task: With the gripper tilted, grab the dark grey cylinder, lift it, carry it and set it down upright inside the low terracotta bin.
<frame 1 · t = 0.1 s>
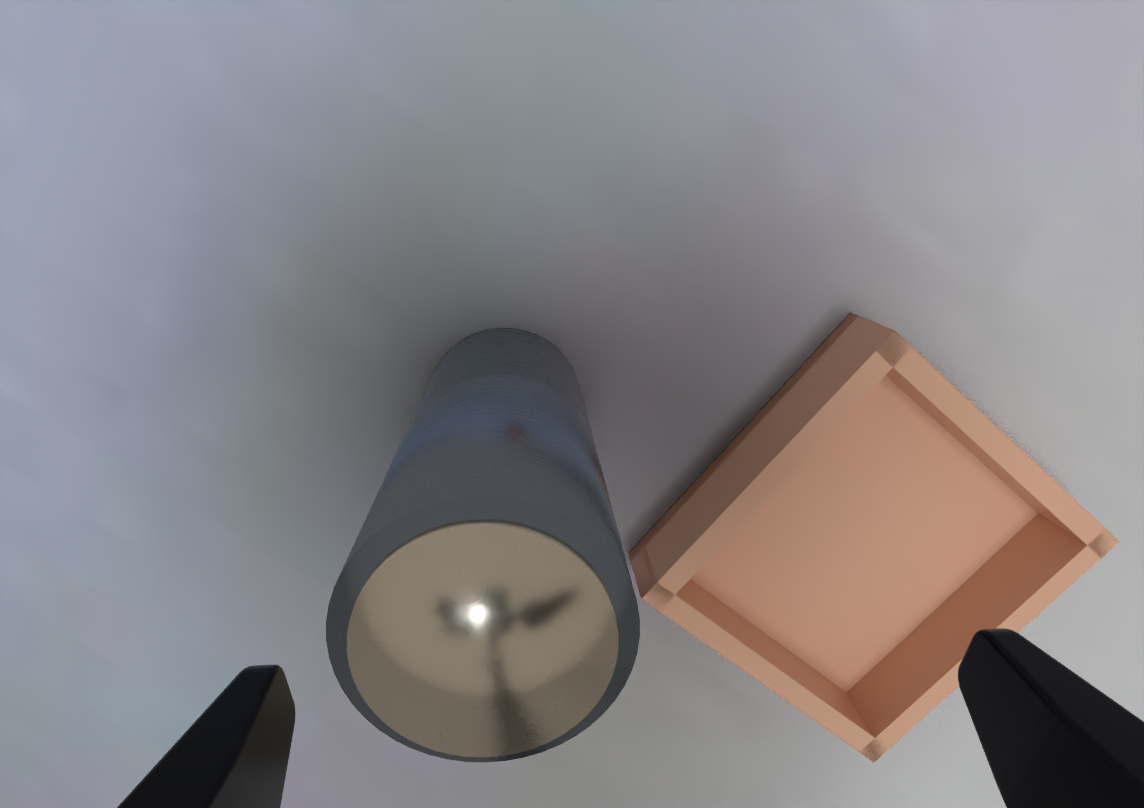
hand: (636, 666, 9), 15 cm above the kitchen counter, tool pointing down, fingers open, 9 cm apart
dark grey cylinder: (505, 402, 24), on the kitchen counter
terracotta bin: (844, 527, 26), on the kitchen counter
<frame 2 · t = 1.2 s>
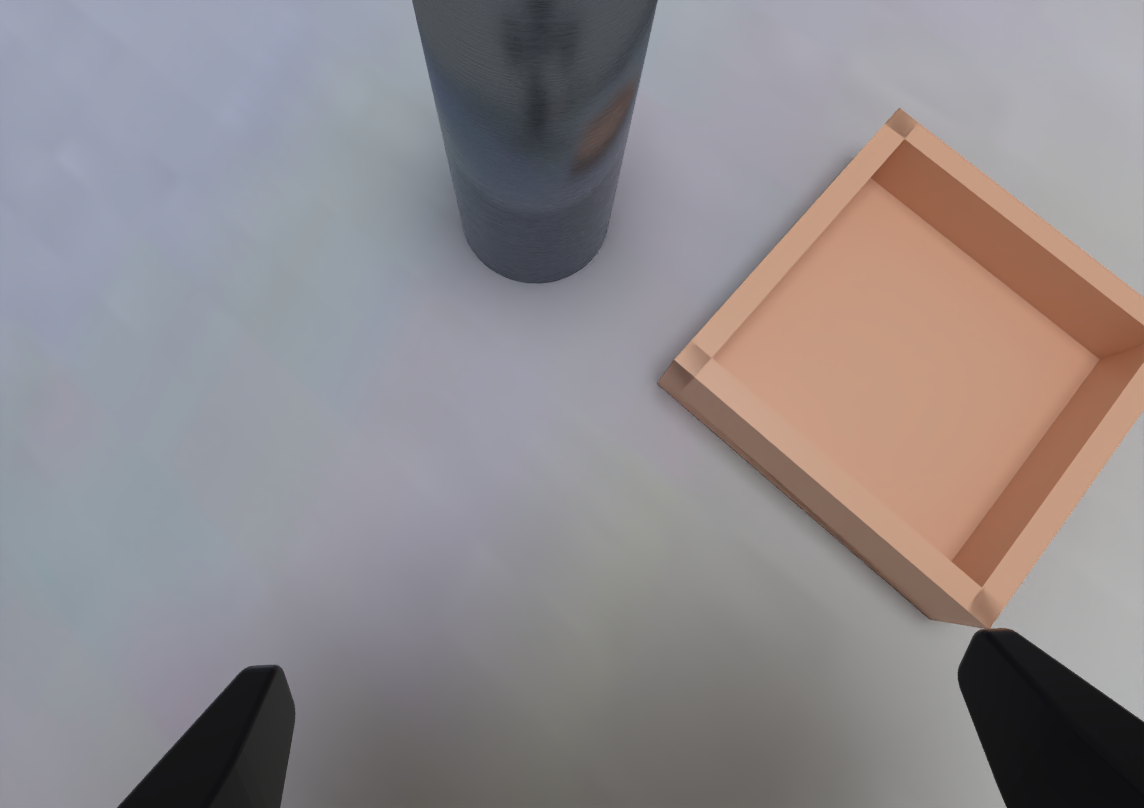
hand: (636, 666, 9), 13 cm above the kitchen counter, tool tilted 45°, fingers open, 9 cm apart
dark grey cylinder: (535, 213, 25), on the kitchen counter
terracotta bin: (891, 372, 24), on the kitchen counter
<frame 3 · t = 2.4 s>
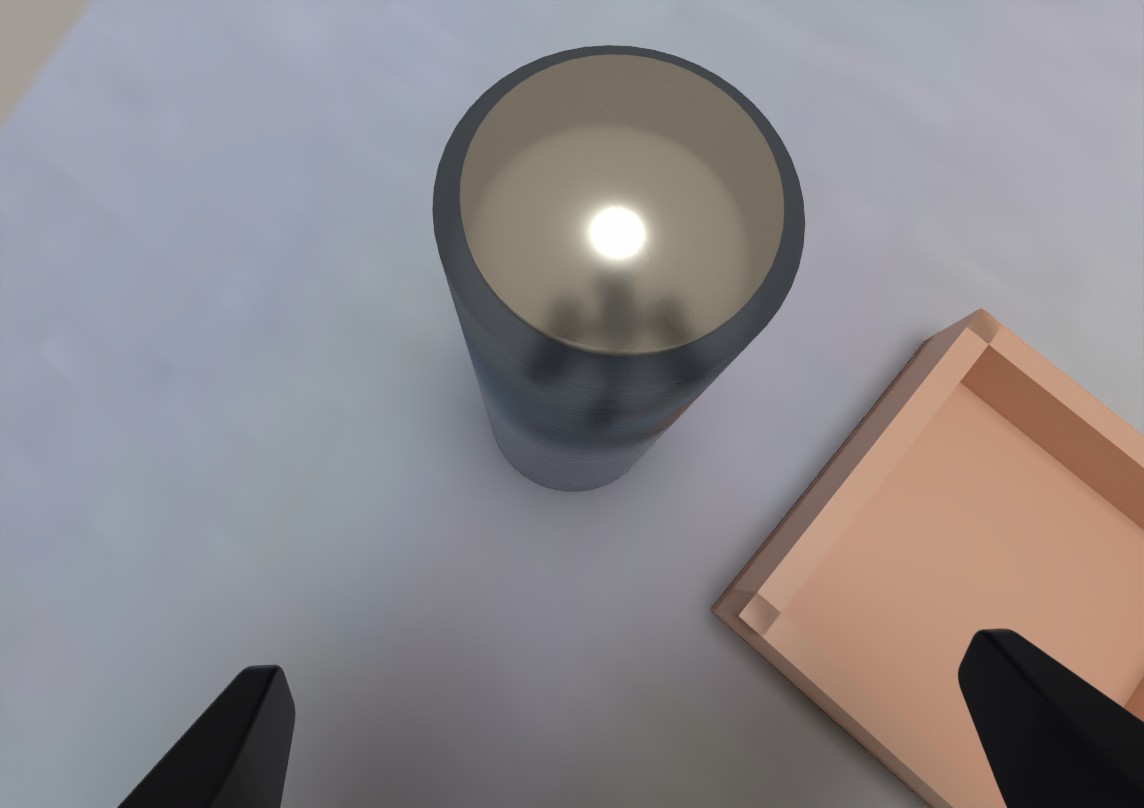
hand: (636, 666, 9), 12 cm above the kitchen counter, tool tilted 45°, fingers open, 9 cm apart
dark grey cylinder: (572, 409, 22), on the kitchen counter
terracotta bin: (971, 592, 22), on the kitchen counter
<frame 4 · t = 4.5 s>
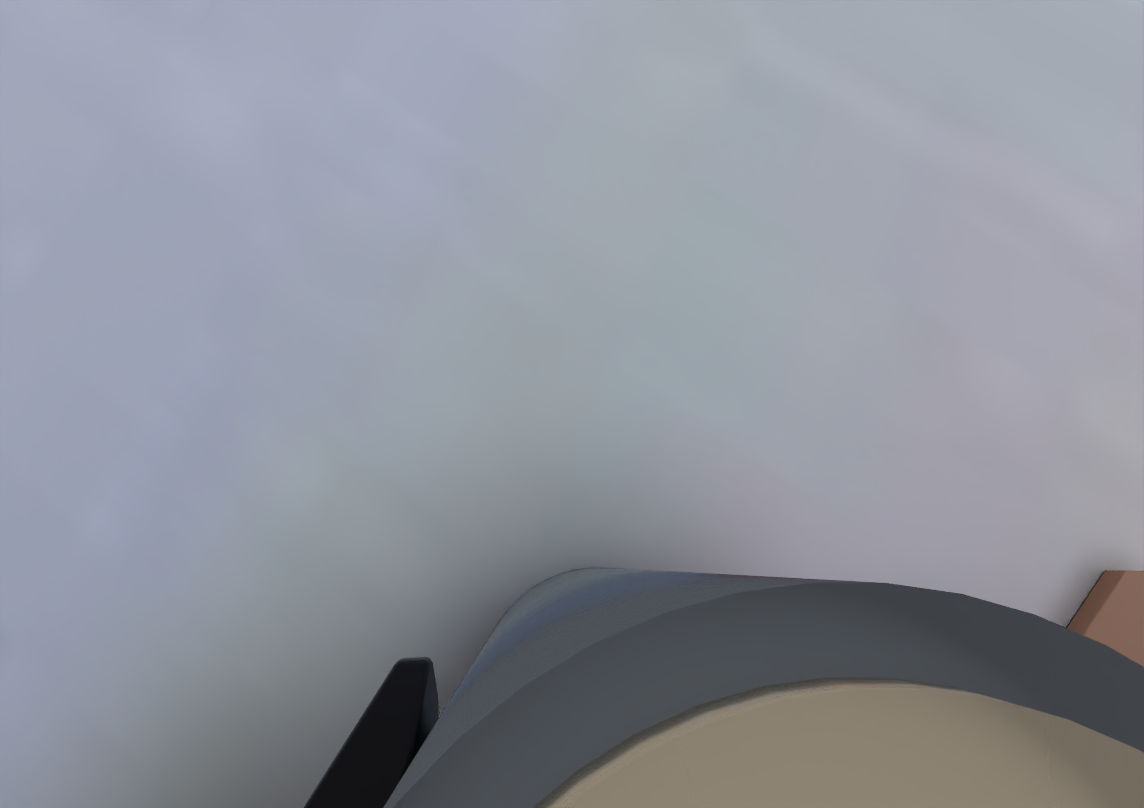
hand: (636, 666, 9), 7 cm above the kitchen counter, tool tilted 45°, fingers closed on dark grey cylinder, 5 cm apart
dark grey cylinder: (597, 690, 15), on the kitchen counter, touching gripper
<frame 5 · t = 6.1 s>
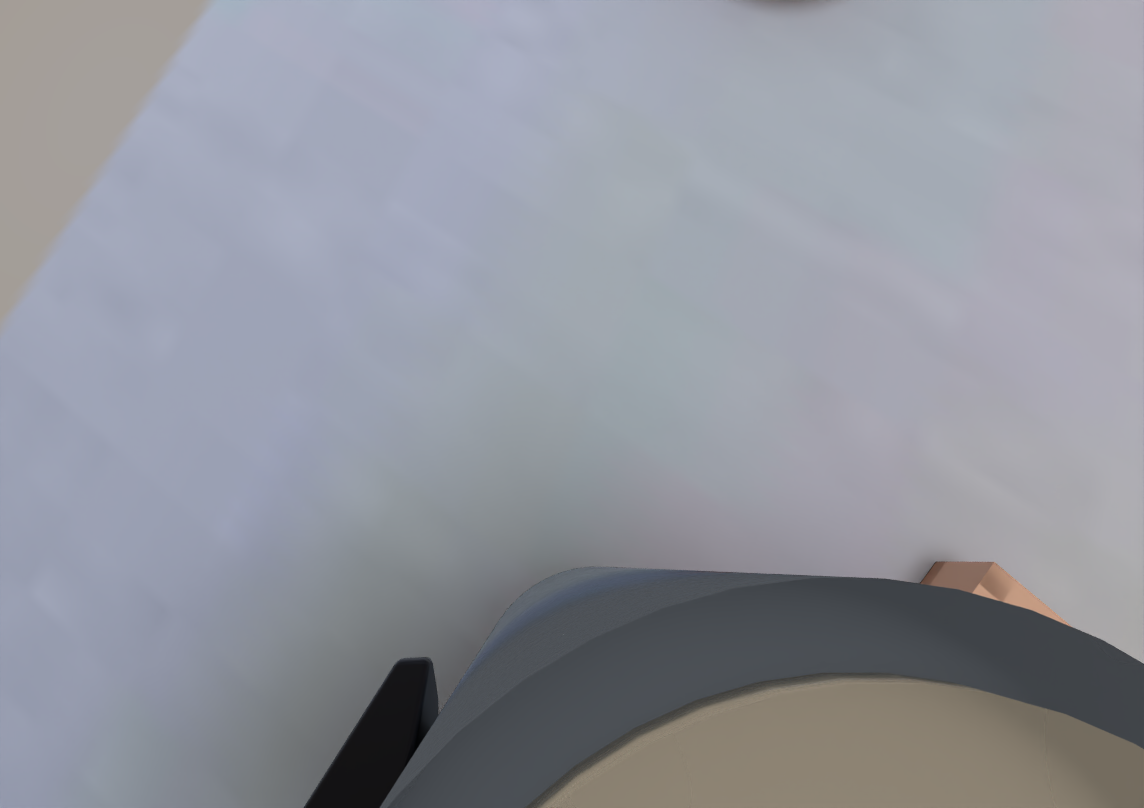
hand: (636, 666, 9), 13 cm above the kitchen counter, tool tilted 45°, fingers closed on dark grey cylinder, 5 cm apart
dark grey cylinder: (597, 689, 15), point 7 cm above the kitchen counter, touching gripper
when the fingers open (9 cm above the kitchen counter, at t = 9.9 s): dark grey cylinder drops 1 cm, resting on terracotta bin.
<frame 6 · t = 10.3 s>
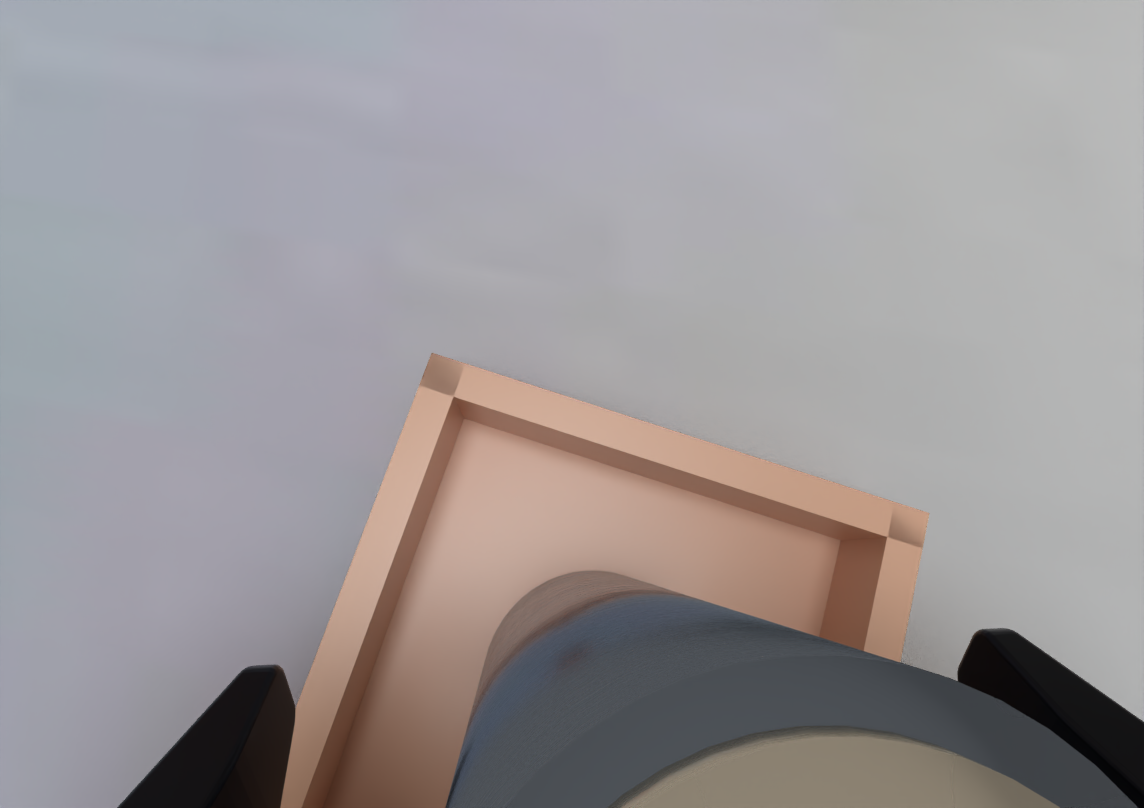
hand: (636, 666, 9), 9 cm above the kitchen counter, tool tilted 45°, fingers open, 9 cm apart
dark grey cylinder: (592, 683, 17), point 1 cm above the kitchen counter, touching terracotta bin
terracotta bin: (590, 675, 17), on the kitchen counter
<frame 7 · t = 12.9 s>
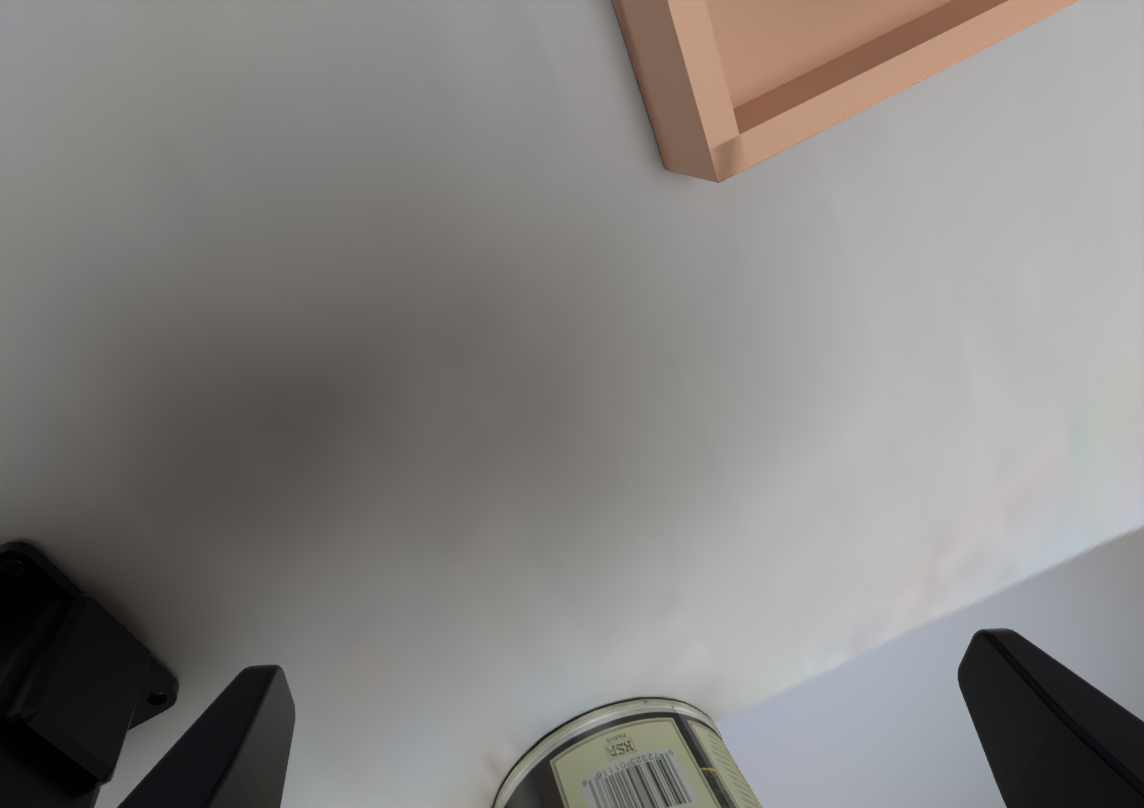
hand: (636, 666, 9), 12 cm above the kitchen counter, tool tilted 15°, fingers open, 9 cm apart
coffee can: (611, 787, 29), on the kitchen counter
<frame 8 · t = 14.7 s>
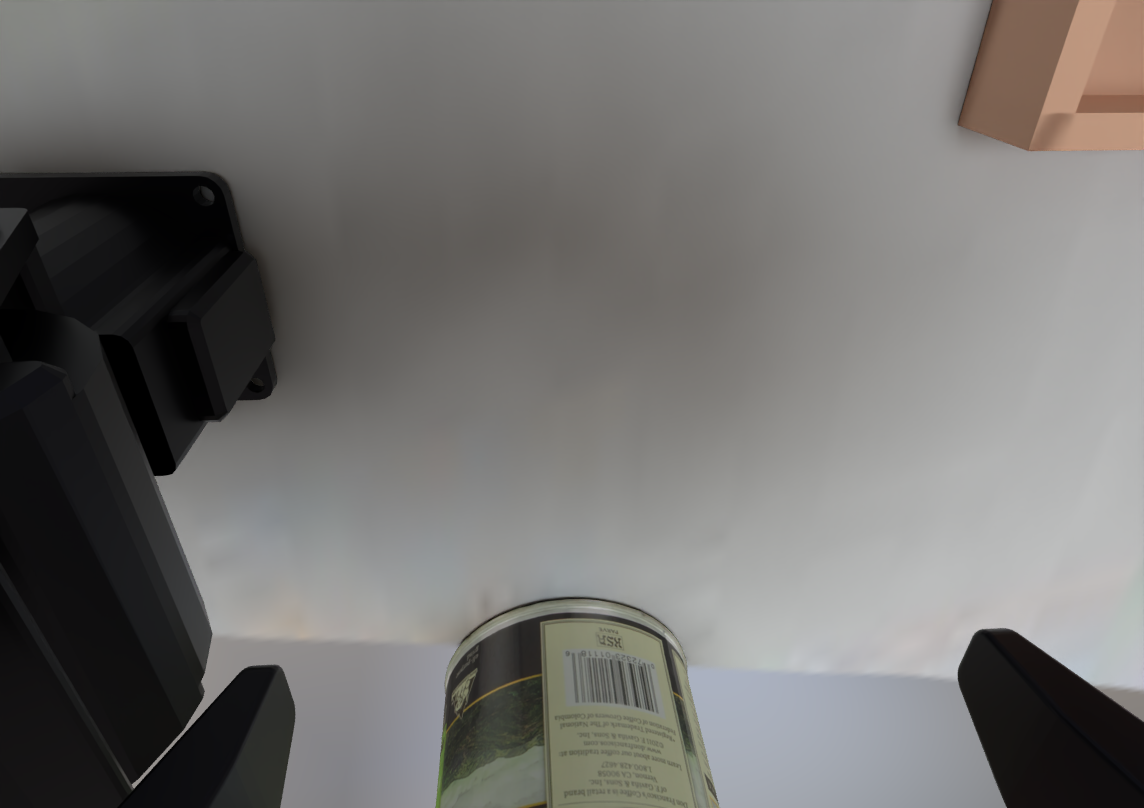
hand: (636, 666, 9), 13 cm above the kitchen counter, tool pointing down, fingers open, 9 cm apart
coffee can: (567, 677, 30), on the kitchen counter
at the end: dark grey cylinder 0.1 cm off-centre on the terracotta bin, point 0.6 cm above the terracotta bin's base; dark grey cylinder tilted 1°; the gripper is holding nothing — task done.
